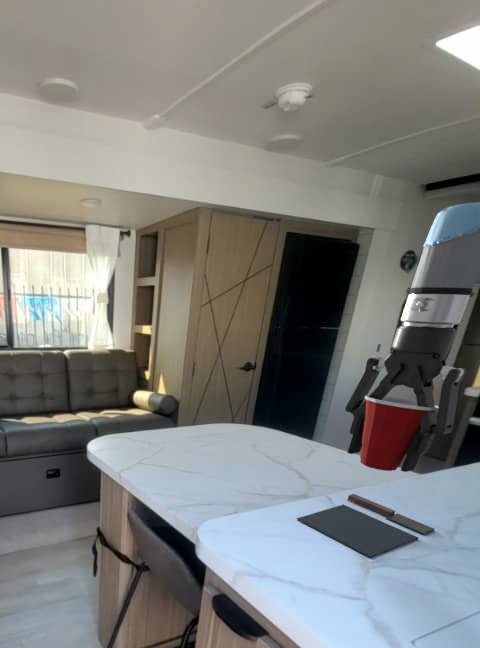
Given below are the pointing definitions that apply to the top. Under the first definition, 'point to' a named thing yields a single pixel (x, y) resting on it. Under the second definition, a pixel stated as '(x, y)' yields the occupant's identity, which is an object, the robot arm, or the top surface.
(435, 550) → the top surface
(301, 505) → the top surface
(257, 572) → the top surface
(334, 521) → the cloth mat
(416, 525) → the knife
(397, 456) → the plastic cup
